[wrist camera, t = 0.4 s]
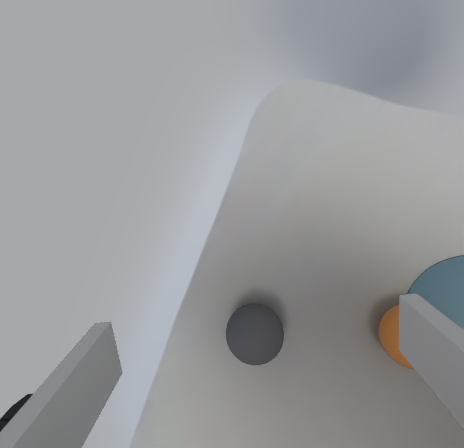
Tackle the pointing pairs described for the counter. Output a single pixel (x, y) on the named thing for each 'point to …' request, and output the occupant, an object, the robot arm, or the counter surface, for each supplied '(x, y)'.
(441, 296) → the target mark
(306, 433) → the counter surface
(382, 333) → the object ball
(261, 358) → the dark grey ball
